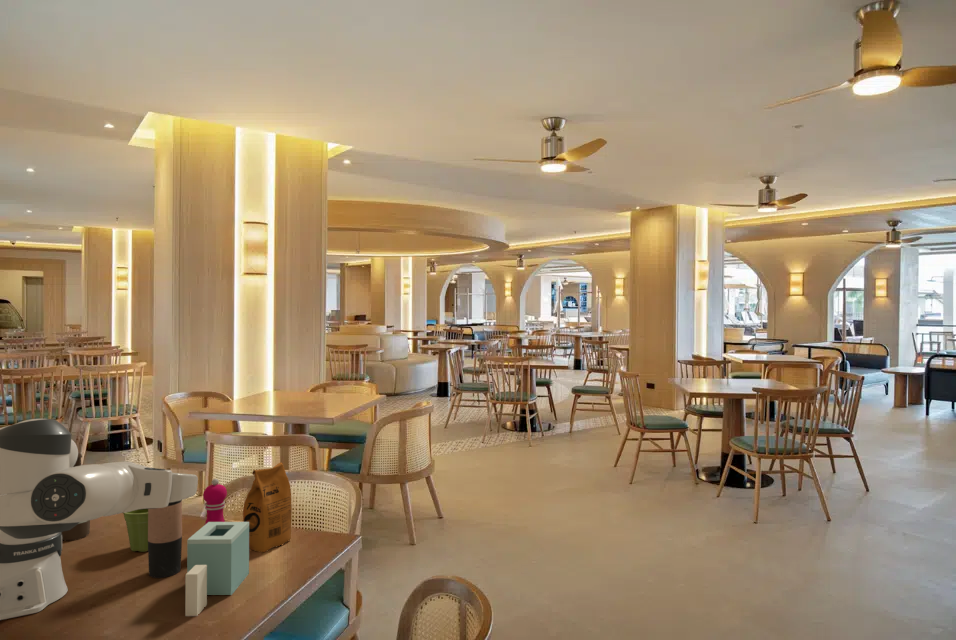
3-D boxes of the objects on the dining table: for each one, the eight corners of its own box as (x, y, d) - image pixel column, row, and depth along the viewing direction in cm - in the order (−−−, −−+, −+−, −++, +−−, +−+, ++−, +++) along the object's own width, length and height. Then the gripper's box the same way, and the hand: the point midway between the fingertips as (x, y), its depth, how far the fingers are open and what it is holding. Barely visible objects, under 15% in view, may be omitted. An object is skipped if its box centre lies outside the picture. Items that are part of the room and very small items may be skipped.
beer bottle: (72, 531, 181) (73, 450, 181) (96, 532, 180) (96, 451, 180) (51, 540, 174) (51, 456, 174) (75, 542, 173) (75, 457, 173)
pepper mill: (234, 547, 170) (234, 475, 169) (220, 557, 162) (220, 482, 162) (209, 546, 170) (209, 474, 170) (194, 556, 163) (195, 481, 163)
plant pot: (178, 544, 172) (179, 504, 172) (138, 559, 161) (138, 516, 161) (152, 537, 177) (152, 498, 177) (111, 550, 167) (111, 509, 166)
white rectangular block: (197, 616, 131) (197, 574, 131) (185, 616, 131) (185, 574, 131) (206, 604, 136) (206, 564, 136) (195, 605, 136) (195, 564, 136)
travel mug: (140, 575, 151) (140, 495, 151) (165, 564, 158) (166, 487, 158) (163, 580, 148) (164, 498, 148) (188, 568, 155) (189, 490, 155)
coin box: (231, 595, 141) (231, 539, 140) (187, 595, 140) (187, 539, 140) (248, 573, 152) (249, 521, 152) (208, 573, 152) (208, 521, 152)
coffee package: (236, 548, 169) (237, 469, 169) (271, 534, 180) (272, 460, 180) (261, 555, 164) (262, 473, 164) (296, 540, 175) (296, 464, 175)
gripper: (56, 504, 106) (105, 495, 120) (173, 508, 106) (208, 499, 119) (62, 467, 107) (109, 462, 121) (177, 470, 107) (212, 466, 120)
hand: (159, 480), depth 120 cm, fingers open, 8 cm apart
